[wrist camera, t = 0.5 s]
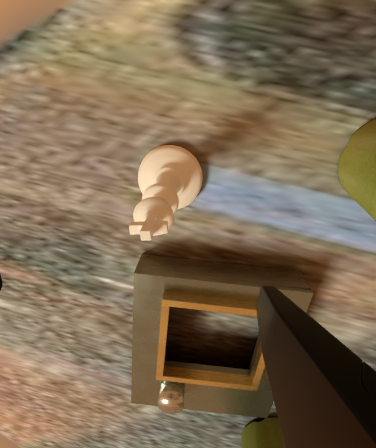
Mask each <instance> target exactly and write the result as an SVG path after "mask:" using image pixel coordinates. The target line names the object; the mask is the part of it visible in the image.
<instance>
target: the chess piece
mask: <svg viewBox="0 0 376 448" xmlns="http://www.w3.org/2000/svg"><path fill="white" fill-rule="evenodd" d="M202 180H203V175H202V170H201V167H200V164H199V162H198V161H197V159H196V158H195V157H194V155H193V154H191V153H190V152H189V151H188V150H186V149H184V148H182V147H179V146H175V145H164V146H160V147H157V148H155V149H153V150H152V151H150V152H149V153H148V154H147V155H146V156H145V157H144V159H143V161H142V163H141V165H140V168H139V172H138V183H139V187H140V189H141V192H142V194H143V196H142V201H140V202H139V203H138V204H137V205H136V207H135V209H134V213H133V217H134V222H131V223H130V225H129V230H130V234H140V237H141V241H145V240H151V239H152V237H153V235H154V236H156V235H161V234H167V233H168V230H169V229H170V228H171V226H172V224H173V221H174V213H175V212H176V210H177V209H181V208H183V207H185V206H187V205H189V204H190V203H191V202H192V201H193V200H194V199H195V198H196V197H197V195H198V193H199V191H200V189H201V186H202Z"/></svg>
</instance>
